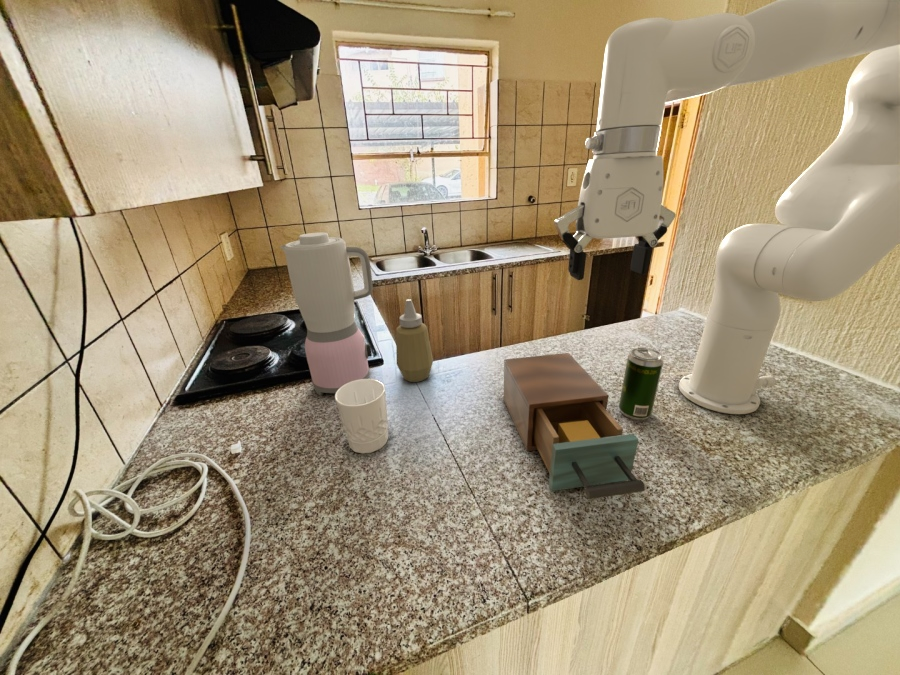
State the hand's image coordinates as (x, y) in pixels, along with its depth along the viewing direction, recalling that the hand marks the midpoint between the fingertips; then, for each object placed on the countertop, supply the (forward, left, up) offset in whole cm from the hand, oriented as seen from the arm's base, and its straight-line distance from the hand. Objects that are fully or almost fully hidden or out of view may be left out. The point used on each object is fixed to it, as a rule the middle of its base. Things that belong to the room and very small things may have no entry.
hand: (607, 275), depth 54 cm
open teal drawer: (+7, +11, -25) cm, 29 cm away
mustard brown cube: (+7, +11, -24) cm, 27 cm away
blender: (+45, -22, -26) cm, 56 cm away
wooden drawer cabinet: (+7, -1, -26) cm, 27 cm away
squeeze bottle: (+30, -21, -26) cm, 45 cm away
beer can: (-9, 0, -26) cm, 28 cm away
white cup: (+39, -1, -26) cm, 47 cm away
